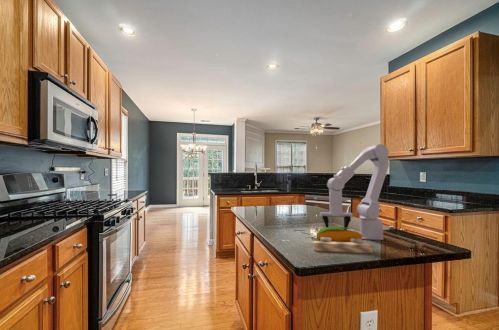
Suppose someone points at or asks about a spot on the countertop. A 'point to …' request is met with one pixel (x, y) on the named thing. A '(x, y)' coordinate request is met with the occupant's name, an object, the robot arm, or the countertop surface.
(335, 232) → the corn
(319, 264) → the countertop surface
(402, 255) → the countertop surface
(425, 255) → the countertop surface
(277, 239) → the countertop surface
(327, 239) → the boss rack
